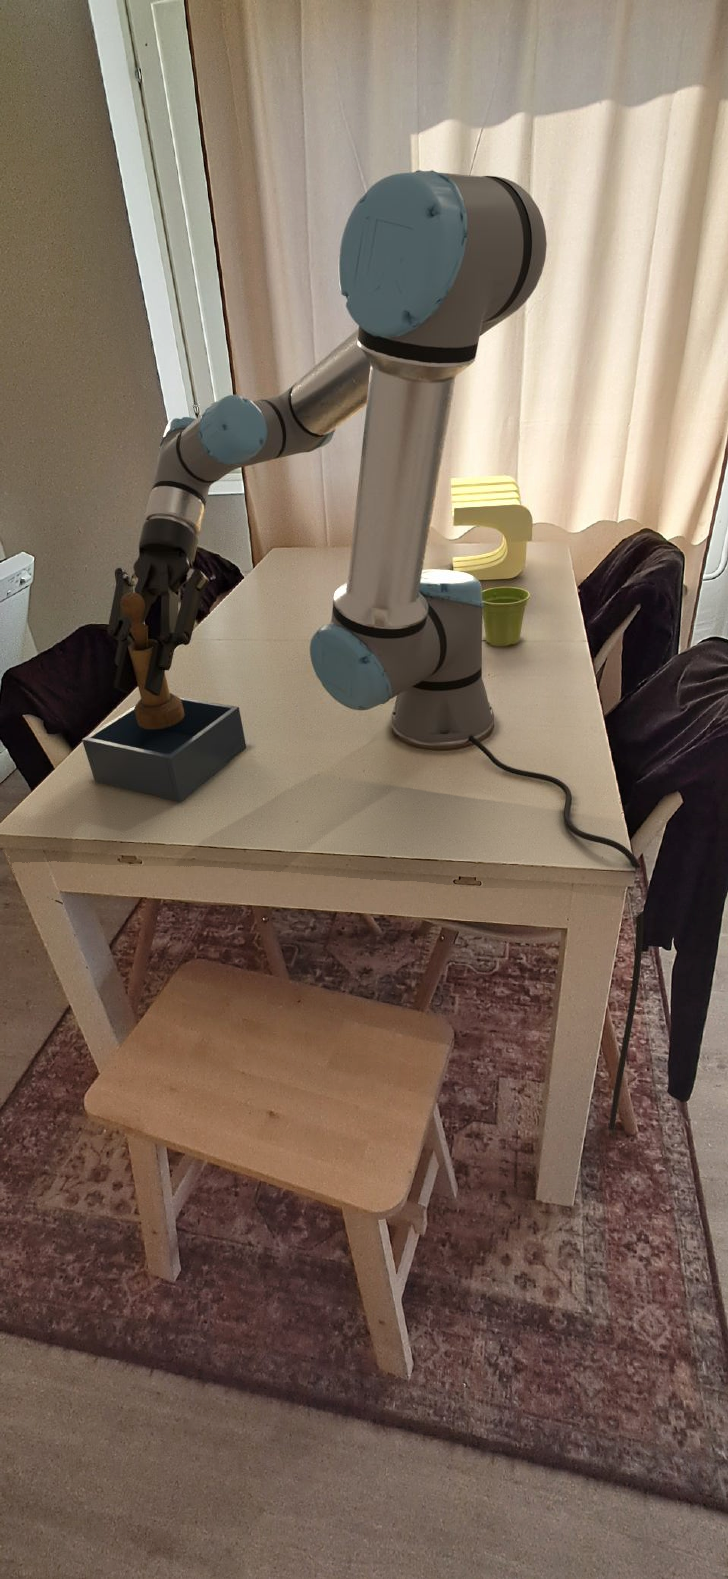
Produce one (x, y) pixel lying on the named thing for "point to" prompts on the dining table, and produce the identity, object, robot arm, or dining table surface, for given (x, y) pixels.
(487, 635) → the plant pot
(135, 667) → the mortar and pestle
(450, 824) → the dining table surface
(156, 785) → the tub
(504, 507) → the slatted curved stool
